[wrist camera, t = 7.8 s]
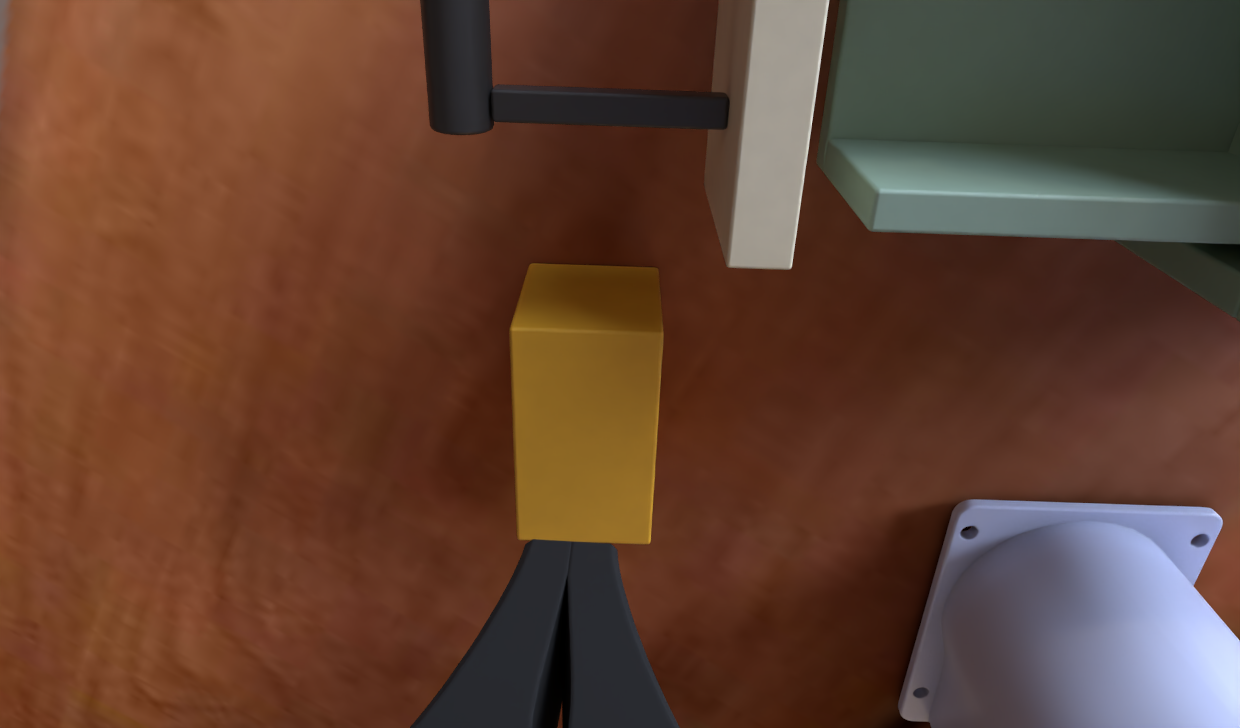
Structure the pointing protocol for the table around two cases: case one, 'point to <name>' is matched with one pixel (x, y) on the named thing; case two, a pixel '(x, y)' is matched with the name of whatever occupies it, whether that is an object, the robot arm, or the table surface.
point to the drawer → (924, 115)
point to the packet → (586, 402)
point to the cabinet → (1197, 268)
